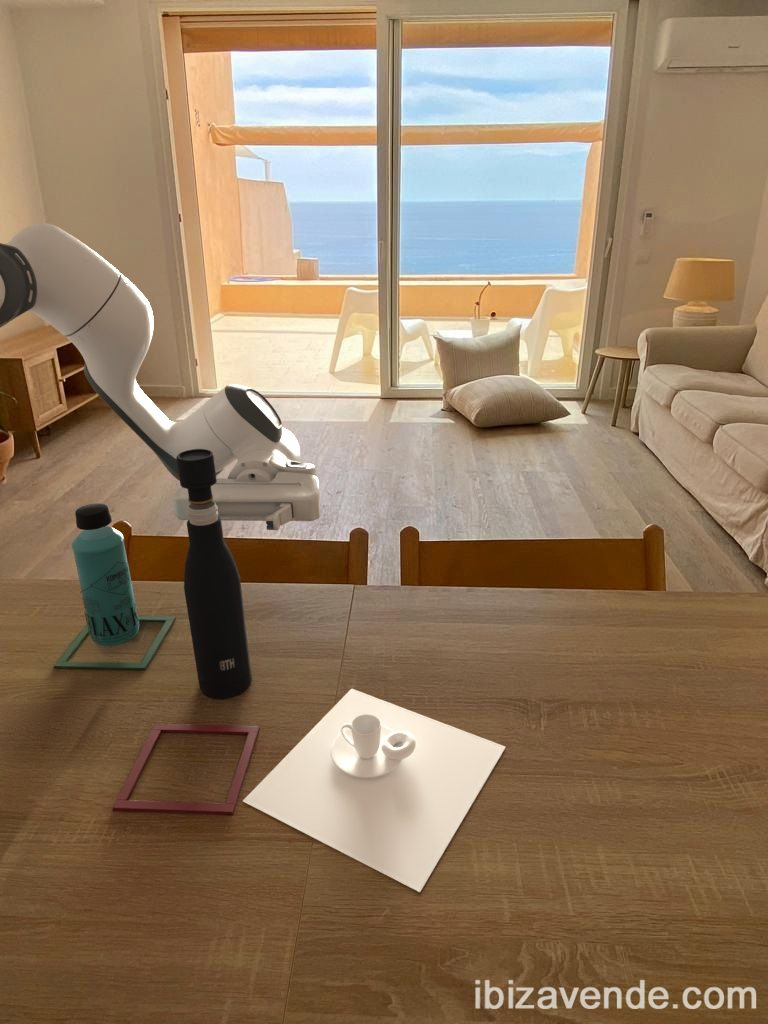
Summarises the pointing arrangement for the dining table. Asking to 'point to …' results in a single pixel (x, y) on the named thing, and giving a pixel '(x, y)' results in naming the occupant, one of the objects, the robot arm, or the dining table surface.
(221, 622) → the insulated water bottle
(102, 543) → the beverage bottle
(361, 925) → the dining table surface
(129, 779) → the red square
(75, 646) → the green square
